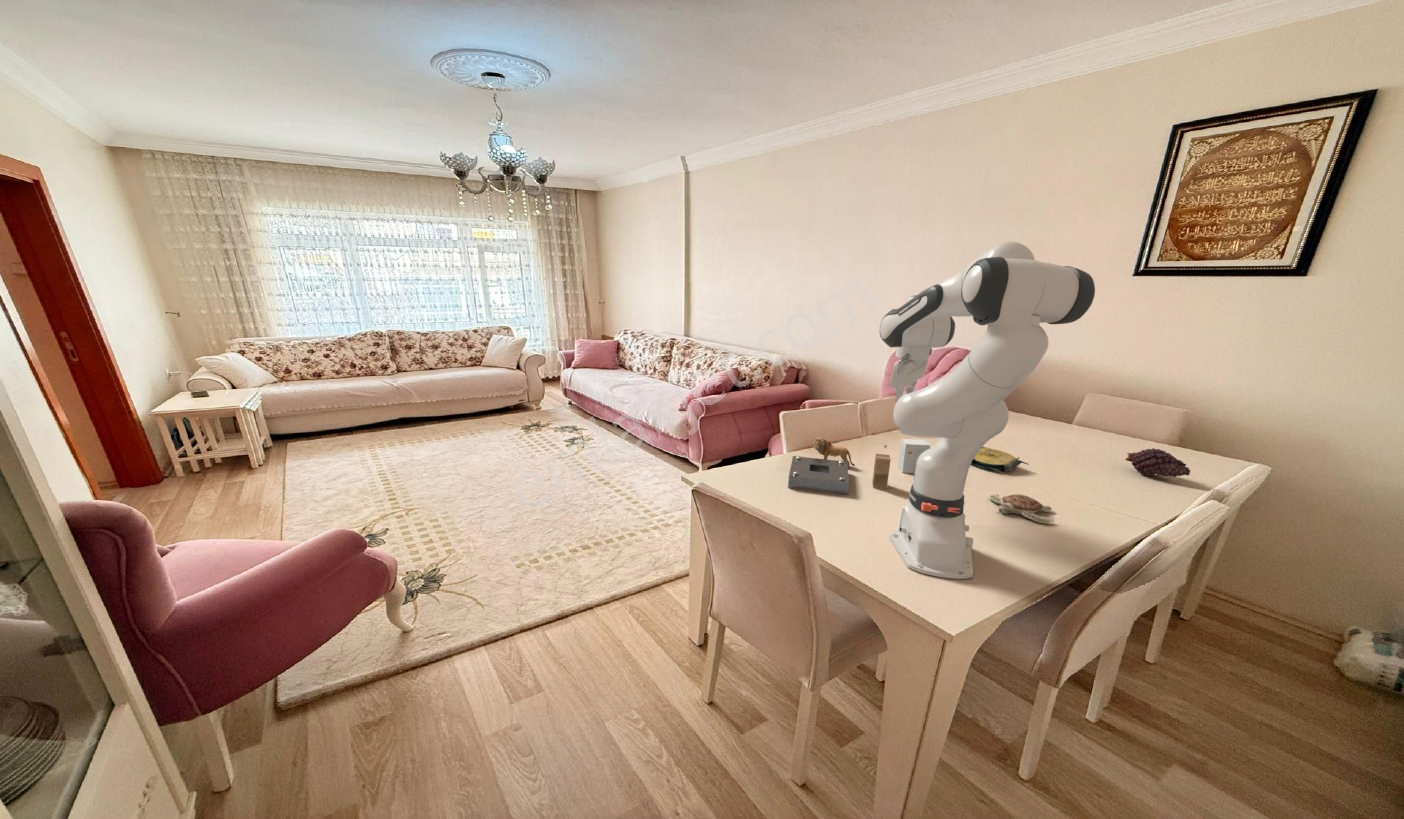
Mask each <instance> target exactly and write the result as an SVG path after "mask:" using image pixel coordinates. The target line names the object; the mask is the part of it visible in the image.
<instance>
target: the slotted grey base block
mask: <svg viewBox="0 0 1404 819" xmlns="http://www.w3.org/2000/svg"><path fill="white" fill-rule="evenodd" d="M788 473H789V474H788V482H787V484H788V485H787V488H788V489H795V490H804V491H805V490H806V491H812V492H813V491H814V492H819V493H820V492H822V493H828V494H829V493H830V494H836V495H846V496H848V495H849V487H850V478H849V468H848V464H847V462H845V461H843V460H837V459H835V460H834V459H827V460H826V459H824V458H815V457H807V456H800V455H793V456H792V460H791V464H790V469H789V472H788Z"/></svg>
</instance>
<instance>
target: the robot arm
mask: <svg viewBox="0 0 1404 819" xmlns="http://www.w3.org/2000/svg"><path fill="white" fill-rule="evenodd" d="M1095 294H1096V287H1095V282H1094V279H1093V277H1092V276H1091V274H1089V273H1088V272H1086V271H1084V270H1082V269H1080V268H1076V267H1073V266H1072V265H1071V266H1069V265H1064V266H1063V265H1058V264H1056V263H1049V262H1045V261H1040V260H1035V256H1034V254H1033V252H1032V251H1031V249H1029V248H1028V246H1027V245H1024V244H1022V243H1020V242H1016V241H1005V242H1001V243H999V244H997V245H995V246H992V247H990V249H987V250H986V251H985V252H983V253H981V254H980V255H979V256H978V257H976V258H975V259H974V260H972V261H971V262H970V263H969V264H968V265H967V266H965V268H963V269H962V270H960V271H959V272H958V273H955V274H954V275H952V276H951V277H949V278H947V279H945V280H942V281H941V282H938V283H935V284H934V285H932V286H930V287H928V288H926V289H924V290H922V291H921V292H920V293H918V294H915V295H911V296H909V297H908V298H907V300H906V302H905V303H904V304H903V305H901V306H900V307H899V308H893V309H891V310H890V311H888V312H887V313H886V314H885V315H884V316H883V317H882V319H881V321H880V325H879V337H880V338H881V340H882V341H883V343H885V344H886V345H887V346H888V347H889V348H896V350H895V357H896V358H899V360H897V361H896V362H895V363H894V365H893V367H892V372H891V375H890V376H891V377H890V380H889V381H890V382H889V385H890V388H891V389H894V392H895V396H894V397H895V398H894V399H895V401H896V403H895V405H894V408H893V412H892V413H893V414H892V415H893V421H894V424H895V427H896V428H897V429H898V431H899V432H900V433H901V434H903V435H906V436H910V437H915V438H921V439H939V440H938V441H937V442H936V443H935V444H934V445H933V446H930V449H928V450H926V451H924V452H923V453H922V454H921V455H920V456H919V458H918V460H917V463H916V470H915V473H914V478H913V483H912V484H911V486H910V490H909V497H908V498H909V499H908V502H907V503H906V504H905V505H903V506H902V507H901V509H900V512H899V518H898V524H897V530H893V531H890V532H889V535H888V536H889V539H890V541H891V542H892V543H893V545H894V547H895V548H896V551H897V553H898V554H899V555H900V558H902V560H903V562H904V564H905V566H906V567H907V568H909V569H911V570H913V571H915V572H918V573H922V574H923V575H924V574H925V575H928V576H932V577H939V578H944V579H953V580H966V579H971V578H974V567H973V566H974V565H973V557H972V548H973V545H974V538H973V537H969V536H966V532H969V531H970V526H969V525H967V524H966V518H967V517H966V516H967V515H966V514H965V513H964V508H965V495H964V490H965V485H966V482H967V477H968V474H969V470H970V466H971V465H970V464H971V462H972V460H973V459H974V457H975V455H976V454H977V453H978V451H979V450H980V449H981V448H982V447H984V445H985V444H987V443H988V442H989V441H990V440H991V439H993V438H994V437H996V436H998V435H999V434H1001V433H1002V432H1003V431H1004V430H1005V428H1006V427H1007V424H1008V422H1009V416H1010V415H1009V409H1008V406H1007V403H1006V402H1005V399H1006V398H1007V397H1008V396H1009V395H1010V394H1011V393H1013V391H1014V390H1015V389H1017V387H1019V386H1020V385H1021V384H1022V383H1023V382H1024V381H1026V379H1027V378H1028V377H1029V376H1030V374H1031V373H1033V371H1034V370H1035V369H1036V367H1037V366H1038V365H1039V363H1040V362H1041V360H1042V359H1043V358H1044V356H1045V354H1046V353H1047V351H1048V348H1049V336H1048V334H1047V332H1046V331H1045V329H1044V328H1043V327H1042V326H1041V325H1040V324H1042V323H1044V324H1049V325H1065V324H1070V323H1074V322H1076V321H1079V319H1081V318H1082V317H1083V316H1084V315H1085V314H1086V313H1087V312H1088V310H1090V308H1091V306H1092V304H1093V302H1094V298H1095ZM953 317H972V320H973V322H974V323H975V324H977V325H979V326H986V325H987V327H986V331H985V334H984V335H983V336H982V338H981V339H980V340H979V341H978V342H977V343H976V345H975V346H974V347H973V348H972V349H971V350H970V351H969V352H968V354H967V355H966V356H965V357H964V358H963V360H961V361H960V363H959V364H958V365H957V366H956V367H955V368H954V369H953V370H952V371H950V372H949V373H947V374H946V375H945V376H943V377H941V378H939V379H938V380H936V381H934V382H932V383H931V384H928V385H927V386H925V387H923V388H920V389H918V390H915V387H916V385H917V383H918V380H921V379H922V378H923V377H924V375H925V374H926V369H927V366H928V361H929V357H931V356H932V353H933V349H934V348H936V349H937V348H938V349H939V348H943V347H945V346H947V345H948V344H950V342H951V341H952V339H953V338H954V335H955V331H956V322H955V319H954V318H953ZM905 388H906V391H905ZM904 391H905V394H904Z"/></svg>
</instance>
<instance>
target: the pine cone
mask: <svg viewBox="0 0 1404 819" xmlns="http://www.w3.org/2000/svg"><path fill="white" fill-rule="evenodd" d="M1124 460H1125V461H1126V462H1127V461H1128V462H1131V465H1132V466H1133V469H1135V470H1136V471H1137V473H1139V472H1140V473H1139V474H1142V473H1144V474H1157V475H1156V476H1162V477H1173V478H1176V477H1182V476H1189V475H1191V469H1190V468H1189V467H1188V466H1187V464H1186V463H1184V462H1183V461H1182V460H1180V459H1177V457H1175V456H1173V455H1172V454H1171V453H1169V452H1166V450H1161V449H1160V448H1157V449H1156V448H1155V447H1154V448H1146V449H1142V450H1140V451H1138V452H1131V453H1130V452H1127V457H1126V458H1125V459H1124Z"/></svg>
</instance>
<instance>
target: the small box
mask: <svg viewBox="0 0 1404 819" xmlns="http://www.w3.org/2000/svg"><path fill="white" fill-rule="evenodd" d="M930 448H931V445H930V444H929V443H928V442H927V441H926V440H925V439H910V438H909V439H908V438H901V440H900V449H899V456H898V461H897V462H898V463H897V464H898V465H897V468H898V469H899V470H900V471H901V473H902V474H915V470H916V463H917V460H918V458H919V456H920V455H921V454H922V453H923V452H924V451H926V450H928V449H930Z"/></svg>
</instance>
